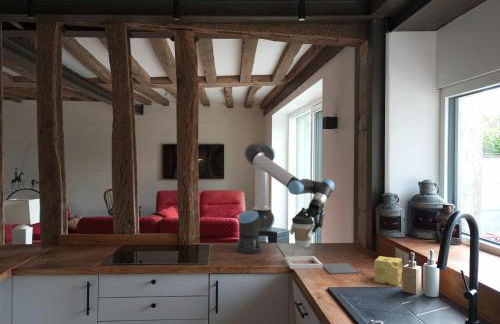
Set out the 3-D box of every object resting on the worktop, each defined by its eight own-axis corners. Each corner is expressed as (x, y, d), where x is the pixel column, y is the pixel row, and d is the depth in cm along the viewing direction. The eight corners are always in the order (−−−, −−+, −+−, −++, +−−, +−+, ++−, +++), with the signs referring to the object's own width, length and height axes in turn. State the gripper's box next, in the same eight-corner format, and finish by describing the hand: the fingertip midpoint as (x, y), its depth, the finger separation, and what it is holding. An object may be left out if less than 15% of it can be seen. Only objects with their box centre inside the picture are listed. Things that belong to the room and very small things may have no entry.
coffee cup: (317, 246, 196) (318, 217, 195) (305, 250, 187) (306, 220, 187) (299, 242, 203) (300, 215, 203) (287, 246, 195) (287, 217, 194)
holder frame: (284, 260, 202) (284, 256, 202) (314, 259, 204) (314, 256, 204) (290, 268, 186) (290, 264, 186) (322, 268, 188) (322, 264, 188)
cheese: (398, 286, 161) (398, 263, 161) (372, 282, 166) (372, 259, 166) (402, 280, 169) (402, 258, 169) (378, 276, 175) (378, 255, 175)
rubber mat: (320, 264, 194) (320, 263, 194) (346, 264, 195) (346, 263, 195) (330, 274, 178) (330, 272, 178) (358, 273, 179) (358, 272, 179)
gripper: (339, 209, 197) (321, 243, 187) (303, 205, 214) (285, 235, 204) (333, 200, 193) (315, 233, 183) (297, 196, 210) (279, 227, 200)
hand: (299, 234), depth 193 cm, fingers closed on coffee cup, 11 cm apart
